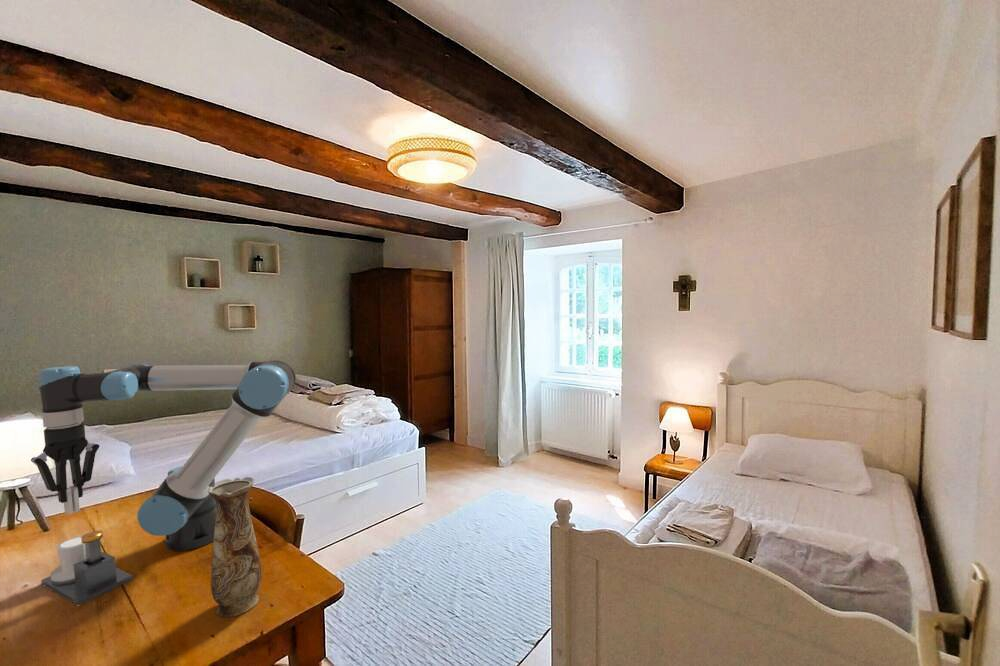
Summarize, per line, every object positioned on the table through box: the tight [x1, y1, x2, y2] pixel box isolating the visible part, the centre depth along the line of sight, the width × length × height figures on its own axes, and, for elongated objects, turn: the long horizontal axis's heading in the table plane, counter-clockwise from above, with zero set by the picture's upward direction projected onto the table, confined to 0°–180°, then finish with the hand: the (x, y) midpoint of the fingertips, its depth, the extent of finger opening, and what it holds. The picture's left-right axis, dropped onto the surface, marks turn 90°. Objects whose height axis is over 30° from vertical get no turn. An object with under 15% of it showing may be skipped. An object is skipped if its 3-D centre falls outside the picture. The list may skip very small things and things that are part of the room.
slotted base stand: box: [40, 551, 133, 606], centre depth 113 cm, size 20×11×7 cm, turn 65°
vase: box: [207, 476, 262, 618], centre depth 103 cm, size 10×11×30 cm
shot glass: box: [56, 535, 86, 573], centre depth 115 cm, size 7×7×7 cm
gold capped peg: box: [81, 530, 104, 566], centre depth 111 cm, size 4×4×8 cm
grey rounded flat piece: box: [50, 565, 75, 585], centre depth 115 cm, size 10×10×2 cm
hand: (72, 511), depth 114 cm, fingers closed
